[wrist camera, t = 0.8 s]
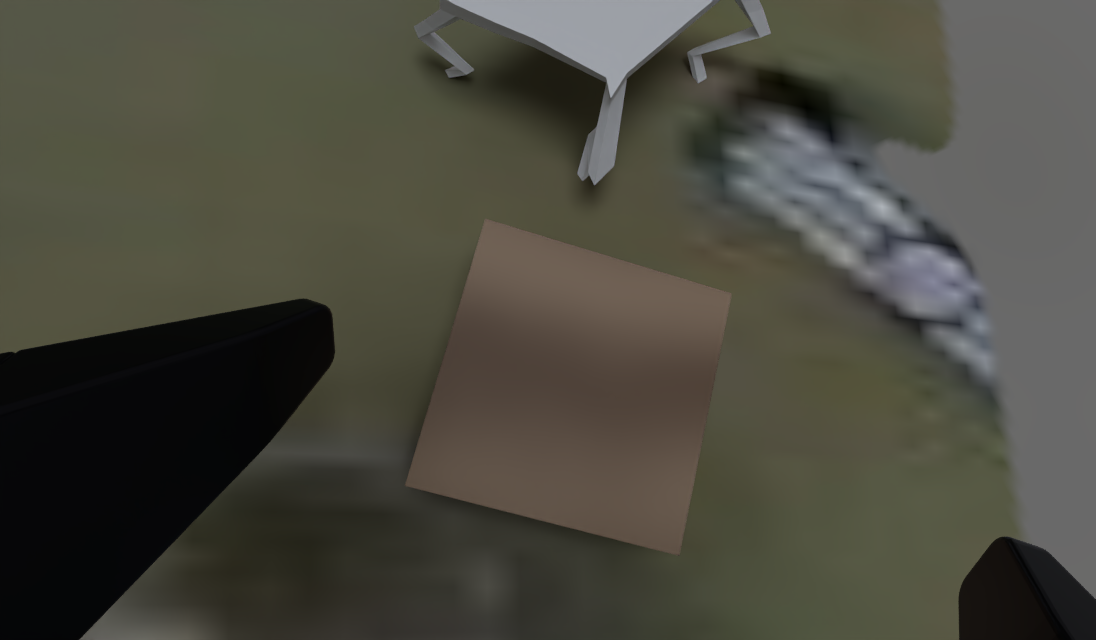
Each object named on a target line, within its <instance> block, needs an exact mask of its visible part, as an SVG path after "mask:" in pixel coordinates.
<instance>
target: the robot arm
mask: <svg viewBox="0 0 1096 640" xmlns="http://www.w3.org/2000/svg"><path fill="white" fill-rule="evenodd" d="M334 354H335V345H334V332H333V318H332V313H331V311H330V309H329V308H328V307H327V306H326V305H323V304H321V303H318V302H315V301H312V300H309V299H297V300H291V301H286V302H280V303H275V304H269V305H264V306H258V307H253V308H247V309H242V310H237V311H231V312H226V313H220V314H215V315H209V316H204V317H198V318H193V319H187V320H182V321H176V322H171V323H166V324H160V325H155V326H149V327H144V328H138V329H133V330H127V331H122V332H116V333H111V334H105V335H100V336H95V337H89V338H84V339H78V340H73V341H67V342H62V343H56V344H51V345H45V346H40V347H34V348H29V349H23V350H20V351H18V352H16V353H14V352H6V353H1V354H0V640H79V639H80V638H81V637H82V636H83V635H84V634H85V633H86V632H87V631H88V630H89V629H90V628H91V627H92V626H93V625H94V624H95V623H96V622H97V621H98V620H99V619H100V618H101V617H102V616H103V615H104V613H105V612H106V611H107V610H108V609H109V608H110V607H111V606H112V605H113V604H114V603H115V602H116V601H117V600H118V599H119V598H120V597H121V596H122V595H123V594H124V593H125V592H126V591H127V590H128V589H129V588H130V587H131V586H132V585H133V583H134V582H135V581H136V580H137V579H138V578H139V577H140V576H141V575H142V574H143V573H144V572H145V571H146V570H147V569H148V568H149V567H150V566H151V565H152V564H153V563H154V562H155V561H156V560H157V559H158V558H159V557H160V556H161V555H162V554H163V552H164V551H165V550H166V549H167V548H168V547H169V546H170V545H171V544H172V543H173V542H174V541H175V540H176V539H177V538H178V537H179V536H180V535H181V534H182V533H183V532H184V531H185V530H186V529H187V528H188V527H189V526H190V525H191V524H192V522H193V521H194V520H195V519H196V518H197V517H198V516H199V515H200V514H201V513H202V512H203V511H204V510H205V509H206V508H207V507H208V506H209V505H210V504H211V503H212V502H213V501H214V500H215V499H216V498H217V497H218V496H219V495H220V494H221V492H222V491H223V490H224V489H225V488H226V487H227V486H228V485H229V484H230V483H231V482H232V481H233V480H234V479H235V478H236V477H237V476H238V475H239V474H240V473H241V472H242V471H243V470H244V469H245V468H246V467H247V466H248V465H249V464H250V463H251V461H252V460H253V459H254V458H255V457H256V456H257V455H258V454H259V453H260V452H261V451H262V450H263V449H264V448H265V447H266V446H267V444H268V443H269V442H270V441H271V440H272V439H273V438H274V436H275V435H276V434H277V433H278V432H279V430H280V429H281V428H282V427H283V425H284V424H285V423H286V422H287V420H288V419H289V418H290V417H291V415H292V414H293V413H294V412H295V410H296V409H297V408H298V406H299V405H300V404H301V403H302V401H303V400H304V399H305V398H306V396H307V395H308V394H309V393H310V391H311V390H312V389H313V388H314V386H315V385H316V384H317V382H318V381H319V380H320V379H321V377H322V376H323V375H324V374H325V372H326V371H327V370H328V369H329V367H330V365H331V363H332V361H333V359H334ZM959 640H1096V599H1095V598H1094V597H1093V596H1092V595H1091V594H1090V593H1089V592H1088V591H1087V590H1086V589H1085V588H1084V587H1083V586H1082V585H1081V584H1080V583H1079V582H1078V581H1077V580H1076V579H1075V578H1074V577H1073V576H1072V575H1071V574H1070V573H1069V572H1068V571H1067V570H1066V569H1065V568H1064V567H1063V566H1062V565H1061V564H1060V563H1059V562H1058V561H1057V560H1056V559H1055V558H1054V557H1053V556H1052V555H1051V554H1050V553H1049V552H1047V551H1046V550H1044V549H1042V548H1040V547H1038V546H1035V545H1032V544H1029V543H1026V542H1023V541H1020V540H1017V539H1014V538H1011V537H999V538H998V539H996V540H995V541H994V542H993V543H992V544H991V545H990V546H989V547H988V549H987V550H986V551H985V553H984V554H983V555H982V556H981V558H980V559H979V560H978V562H977V563H976V564H975V566H974V567H973V568H972V569H971V571H970V572H969V573H968V575H967V576H966V577H965V579H964V581H963V583H962V585H961V588H960V592H959Z"/></svg>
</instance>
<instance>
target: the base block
mask: <svg viewBox="0 0 1096 640" xmlns="http://www.w3.org/2000/svg"><path fill="white" fill-rule="evenodd" d="M731 296H732V293H728V292H725V291H722V290H718V289H715V288H712V287H709V286H705V285H702V284H699V283H695V282H692V281H689V280H685V279H682V278H679V277H676V276H672V275H669V274H666V273H662V272H659V271H656V270H653V269H649V268H646V267H643V266H639V265H636V264H633V263H629V262H626V261H623V260H620V259H616V258H613V257H610V256H606V255H603V254H600V253H596V252H593V251H590V250H587V249H583V248H580V247H577V246H573V245H570V244H567V243H563V242H560V241H557V240H554V239H550V238H547V237H544V236H540V235H537V234H534V233H531V232H527V231H524V230H521V229H517V228H514V227H511V226H507V225H504V224H501V223H498V222H494V221H491V220H488V219H485V221H484V224H483V228H482V231H481V234H480V238H479V241H478V244H477V248H476V251H475V254H474V258H473V261H472V264H471V268H470V271H469V274H468V278H467V281H466V284H465V288H464V291H463V294H462V297H461V301H460V304H459V307H458V311H457V314H456V317H455V321H454V324H453V327H452V331H451V334H450V337H449V341H448V344H447V347H446V351H445V354H444V357H443V361H442V364H441V367H440V371H439V374H438V377H437V380H436V384H435V387H434V390H433V394H432V397H431V400H430V404H429V407H428V410H427V414H426V417H425V420H424V424H423V427H422V430H421V434H420V437H419V440H418V444H417V447H416V450H415V453H414V457H413V460H412V463H411V467H410V470H409V473H408V477H407V480H406V483H405V486H408V487H412V488H415V489H419V490H423V491H427V492H431V493H435V494H439V495H443V496H447V497H451V498H455V499H459V500H463V501H466V502H470V503H474V504H478V505H482V506H486V507H490V508H494V509H498V510H502V511H506V512H510V513H513V514H517V515H521V516H525V517H529V518H533V519H537V520H541V521H545V522H549V523H553V524H557V525H560V526H564V527H568V528H572V529H576V530H580V531H584V532H588V533H592V534H596V535H600V536H604V537H608V538H611V539H615V540H619V541H623V542H627V543H631V544H635V545H639V546H643V547H647V548H651V549H655V550H658V551H662V552H666V553H670V554H674V555H678V556H679V555H680V550H681V545H682V540H683V535H684V530H685V525H686V520H687V515H688V510H689V505H690V500H691V495H692V490H693V485H694V480H695V475H696V470H697V465H698V460H699V455H700V450H701V445H702V440H703V435H704V430H705V425H706V420H707V415H708V410H709V405H710V400H711V395H712V390H713V385H714V380H715V375H716V370H717V365H718V360H719V355H720V350H721V346H722V341H723V336H724V331H725V326H726V321H727V316H728V311H729V306H730V301H731Z"/></svg>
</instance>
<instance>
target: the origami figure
mask: <svg viewBox="0 0 1096 640" xmlns="http://www.w3.org/2000/svg"><path fill="white" fill-rule="evenodd" d="M719 1H720V0H440V9H439V10H438V11H437V12H435V13H434V14H432V15H431V16H429V17H428V18H426V19H425V20H423V21H422V22H420V23H419V24H417V25H416V26H414V28H415V31H416V33H417V36H418V38H419V39H420V40H421V41H423V42H424V43H425V44H427V45H428V46H429V47H431V48H432V49H433V50H434V51H436V52H437V53H438V54H440V55H441V56H442V57H444V58H445V59H446V60H448V61H449V62H450V63H451V64H453V65H454V66H455V67H451V68H449V69H446V70H445V71H446V73H447V75H448V77H449V78H452V77H457V76H463V75H467V74H469V73H470V72H472V71H474V69H473V68H472V67H471V66H470V65H469V64H468V63H467V62H466V61H465V60H464V59H463V58H461V57H460V56H459V55H458V54H457V53H456V52H455V51H454V50H453V49H452V48H451V47H450V46H449V45H448V44H447V43H446V42H444V41H443V40H442V39H441V38H440V37H439V36H438V35H437V34H436V33H435V31H437V30H439V29H441V28H443V27H446V26H448V25H450V24H452V23H454V22H456V21H458V20H459V19H462V20H465V21H467V22H470V23H472V24H475V25H477V26H479V27H482V28H484V29H487V30H489V31H491V32H494V33H497V34H499V35H502V36H505V37H507V38H510V39H513V40H515V41H518V42H521V43H523V44H526V45H529V46H532V47H534V48H536V49H538V50H540V51H542V52H544V53H546V54H548V55H550V56H552V57H554V58H556V59H559V60H561V61H563V62H565V63H567V64H569V65H571V66H573V67H575V68H577V69H579V70H581V71H583V72H585V73H587V74H589V75H591V76H593V77H595V78H597V79H599V80H601V81H603V82H605V83H606V87H605V91H604V96H603V101H602V105H601V110H600V115H599V119H598V124H597V127H596V128H595V129H594V130H593V131H591V132H590V133H589V134H588V137H587V141H586V144H585V148H584V151H583V155H582V158H581V162H580V165H579V169H578V173H577V174H578V175H579V177H580V178H581V180H582V181H584V180H585V179H586V178H587V177H588V176H590V178H591V180H592V182H593V184H594V186H595V185H596V184H597V183H598V182H599V181H600V180H601V179H602V178H603V177H604V176H605V175H606V174H607V173H608V172H609V171H610V170H611V169H612V168H613V167H614V164H615V157H616V150H617V143H618V136H619V129H620V122H621V115H622V109H623V102H624V96H625V89H626V82H627V78H628V77H629V76H631V75H632V74H633V73H634V72H635V71H637V70H638V69H639V68H640V67H641V66H642V65H644V64H645V63H646V62H647V61H648V60H650V59H651V58H652V57H653V56H654V55H656V54H657V53H658V52H659V51H660V50H662V49H663V48H664V47H665V46H666V45H667V44H669V43H670V42H671V41H672V40H673V39H675V38H676V37H677V36H678V35H679V34H681V33H682V32H683V31H684V30H685V29H686V28H688V27H689V26H690V25H691V24H692V23H694V22H695V21H696V20H697V19H698V18H700V17H701V16H702V15H703V14H704V13H706V12H707V11H708V10H709V9H710V8H711V7H713V6H714V5H715V4H716V3H717V2H719ZM735 1H736V3H737V4H738V6H739V7H740V8H741V10H742V11H743V12H744V14H745V15H746V16H747V18H748V19H749V20H750V22H751V23H752V25H753V27H750V28H747V29H745V30H742V31H739V32H736V33H734V34H731V35H728V36H725V37H723V38H720V39H717V40H714V41H712V42H709V43H706V44H703V45H701V46H698V47H695V48H693V49H692V50H690V51H688V52H687V54H688V59H689V63H690V67H691V72H692V76H693V78H694V79H695V80H696V81H697V83H699V82H701V81H703V80H705V79H706V78H707V76H706V72H705V68H704V64H703V60H702V56H701V54H703V53H707V52H710V51H714V50H718V49H721V48H725V47H728V46H732V45H735V44H739V43H742V42H746V41H750V40H753V39H757V38H760V37H763V36H766V35H768V34H771V32H770V29H769V26H768V23H767V20H766V16H765V13H764V10H763V8H762V5H761V3H760V1H759V0H735Z"/></svg>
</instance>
